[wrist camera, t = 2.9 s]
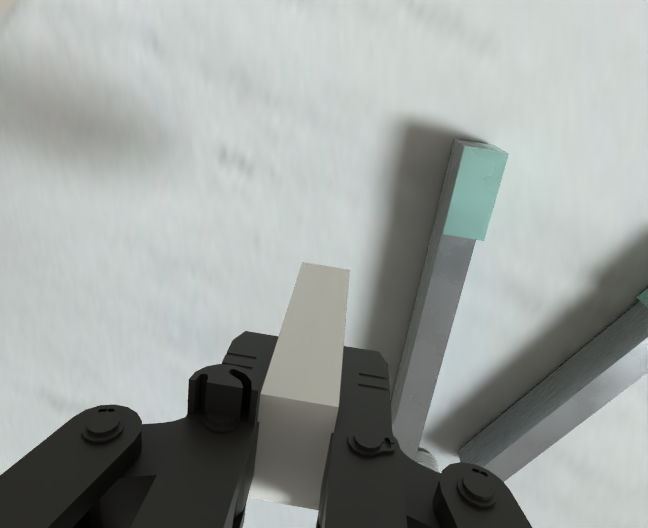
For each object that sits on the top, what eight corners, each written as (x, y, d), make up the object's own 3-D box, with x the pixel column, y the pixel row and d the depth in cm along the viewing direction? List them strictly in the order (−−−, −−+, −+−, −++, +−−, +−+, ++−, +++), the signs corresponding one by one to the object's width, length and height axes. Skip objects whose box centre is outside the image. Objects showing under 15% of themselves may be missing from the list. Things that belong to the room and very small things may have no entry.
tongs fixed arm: (435, 497, 32) (442, 541, 29) (391, 466, 31) (393, 508, 28) (727, 264, 25) (777, 291, 22) (677, 218, 24) (721, 239, 21)
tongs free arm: (415, 432, 30) (420, 464, 28) (384, 427, 30) (386, 458, 28) (493, 145, 23) (508, 153, 21) (454, 138, 23) (464, 146, 21)
